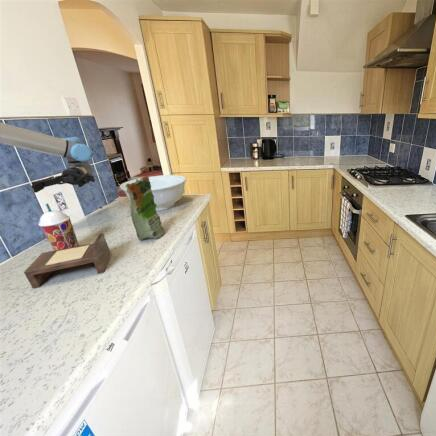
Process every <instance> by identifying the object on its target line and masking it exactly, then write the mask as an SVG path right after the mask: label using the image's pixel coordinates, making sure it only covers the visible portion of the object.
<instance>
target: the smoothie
mask: <svg viewBox="0 0 436 436" xmlns="http://www.w3.org/2000/svg"><path fill="white" fill-rule="evenodd" d="M45 206H46V208H47V211H46V212H44V213H43V214H42V215H40V217H39V219H38V221H39V222H38V224H37V225H38V226H39V228H40V229H41V231H42V232H43V235H44V236H45V237H46V239H47V241H48V242H49V245H50V246H51V248H52V249H53V251H55V250H60V249H66V248H71V247H76V246H80V243H79V241H78V237H77V234H76V233H75V229H74V226H73V224H72V223H73V222H72V220H71V217H70V216H69V215H67V213H65V212H63V211H60V210H55V209H54V210H52V209H51V207H50V205H49V203H45Z"/></svg>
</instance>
